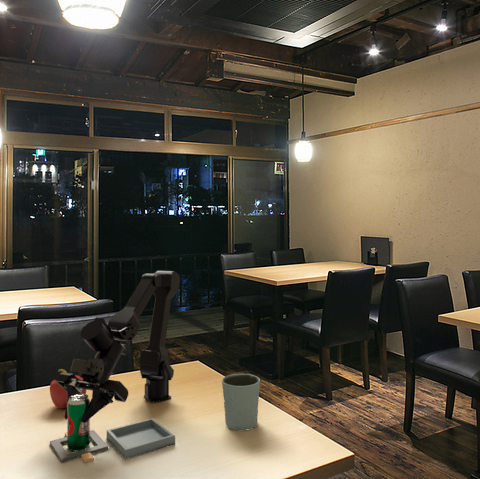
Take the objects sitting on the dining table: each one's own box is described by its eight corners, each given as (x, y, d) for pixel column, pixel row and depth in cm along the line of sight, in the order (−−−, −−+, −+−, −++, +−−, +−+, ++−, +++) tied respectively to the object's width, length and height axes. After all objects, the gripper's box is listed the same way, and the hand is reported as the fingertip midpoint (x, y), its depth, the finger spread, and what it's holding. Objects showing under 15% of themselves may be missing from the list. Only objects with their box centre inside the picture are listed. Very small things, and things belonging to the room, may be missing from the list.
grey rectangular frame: (90, 428, 116) (90, 425, 116) (112, 454, 103) (112, 451, 103) (46, 439, 110) (46, 436, 110) (65, 468, 97) (64, 465, 97)
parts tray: (152, 426, 118) (152, 418, 118) (174, 444, 108) (174, 435, 108) (106, 439, 111) (106, 430, 111) (125, 459, 101) (125, 450, 101)
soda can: (82, 453, 104) (82, 401, 103) (62, 450, 105) (62, 399, 104) (93, 443, 109) (93, 393, 108) (75, 441, 110) (75, 392, 109)
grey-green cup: (265, 420, 122) (265, 376, 122) (250, 435, 113) (250, 388, 113) (232, 413, 126) (232, 371, 126) (215, 427, 117) (215, 382, 117)
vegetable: (42, 405, 132) (42, 371, 132) (74, 396, 140) (74, 364, 140) (60, 415, 125) (60, 380, 125) (93, 405, 133) (93, 371, 132)
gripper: (60, 340, 113) (24, 398, 103) (121, 348, 106) (89, 411, 96) (82, 363, 121) (51, 419, 111) (140, 371, 114) (112, 432, 104)
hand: (74, 420), depth 105 cm, fingers closed on soda can, 5 cm apart
